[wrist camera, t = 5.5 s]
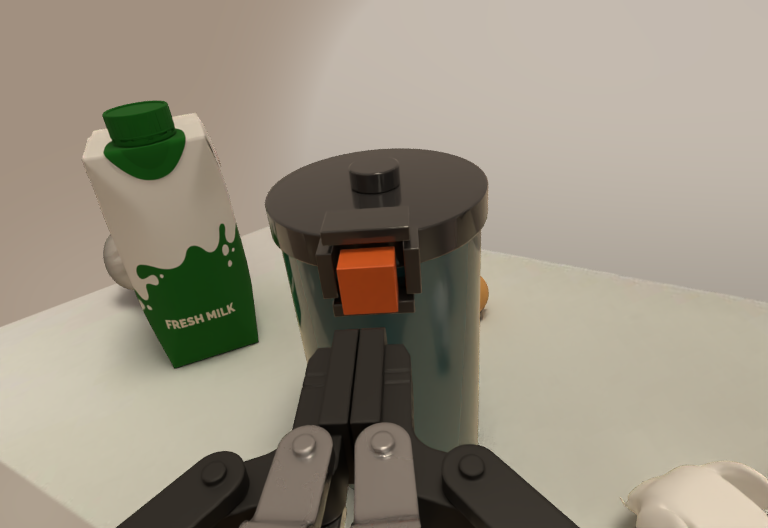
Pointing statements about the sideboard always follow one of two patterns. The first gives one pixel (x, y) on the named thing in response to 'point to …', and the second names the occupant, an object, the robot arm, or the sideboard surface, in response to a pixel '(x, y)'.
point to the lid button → (368, 280)
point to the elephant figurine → (702, 498)
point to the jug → (413, 263)
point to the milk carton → (173, 228)
